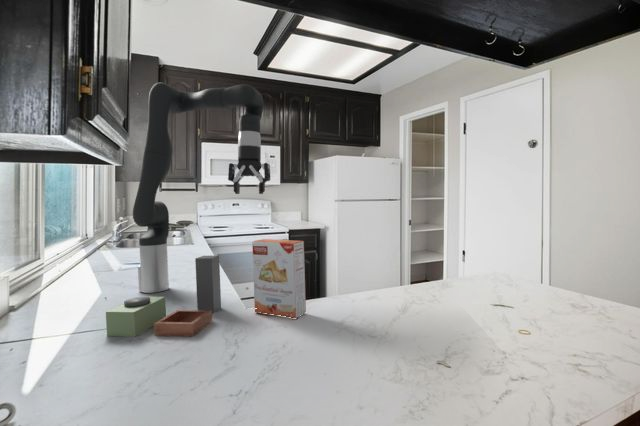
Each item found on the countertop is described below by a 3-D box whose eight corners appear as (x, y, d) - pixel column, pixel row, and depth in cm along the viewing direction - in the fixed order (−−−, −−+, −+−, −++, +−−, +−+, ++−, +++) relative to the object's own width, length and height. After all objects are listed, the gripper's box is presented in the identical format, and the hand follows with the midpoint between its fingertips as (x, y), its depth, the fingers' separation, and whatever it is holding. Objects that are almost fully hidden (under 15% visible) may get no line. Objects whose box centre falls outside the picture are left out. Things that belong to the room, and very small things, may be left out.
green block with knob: (107, 335, 83) (105, 307, 83) (141, 317, 96) (140, 293, 95) (135, 336, 82) (133, 308, 82) (166, 317, 95) (165, 293, 94)
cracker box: (253, 313, 96) (251, 240, 95) (266, 307, 101) (264, 238, 101) (295, 320, 90) (292, 242, 89) (306, 313, 95) (304, 239, 94)
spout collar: (154, 335, 82) (154, 323, 82) (177, 320, 92) (176, 309, 92) (193, 336, 81) (192, 324, 81) (212, 321, 91) (211, 310, 91)
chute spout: (197, 313, 98) (195, 258, 98) (205, 307, 103) (203, 255, 103) (213, 313, 98) (211, 258, 97) (221, 307, 102) (219, 255, 102)
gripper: (273, 148, 118) (272, 194, 118) (234, 148, 120) (234, 194, 120) (266, 143, 110) (265, 193, 110) (225, 144, 113) (224, 193, 113)
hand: (249, 193), depth 115 cm, fingers open, 8 cm apart
